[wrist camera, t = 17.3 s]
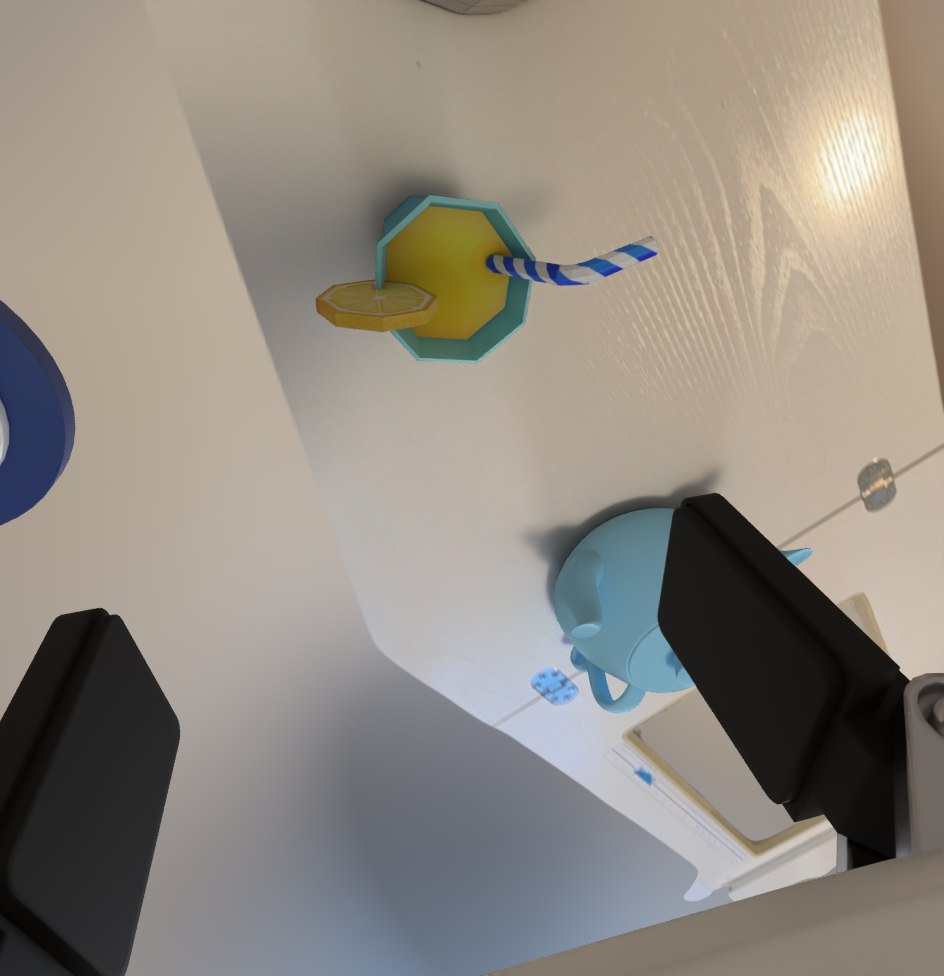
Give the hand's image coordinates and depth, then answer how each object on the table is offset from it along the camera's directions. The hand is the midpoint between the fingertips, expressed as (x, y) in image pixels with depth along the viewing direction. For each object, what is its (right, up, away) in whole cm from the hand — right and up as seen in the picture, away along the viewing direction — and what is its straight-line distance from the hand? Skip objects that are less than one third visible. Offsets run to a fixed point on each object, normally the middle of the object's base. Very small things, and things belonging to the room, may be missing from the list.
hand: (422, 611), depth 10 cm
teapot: (+16, -4, +43) cm, 46 cm away
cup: (-1, +17, +25) cm, 31 cm away
